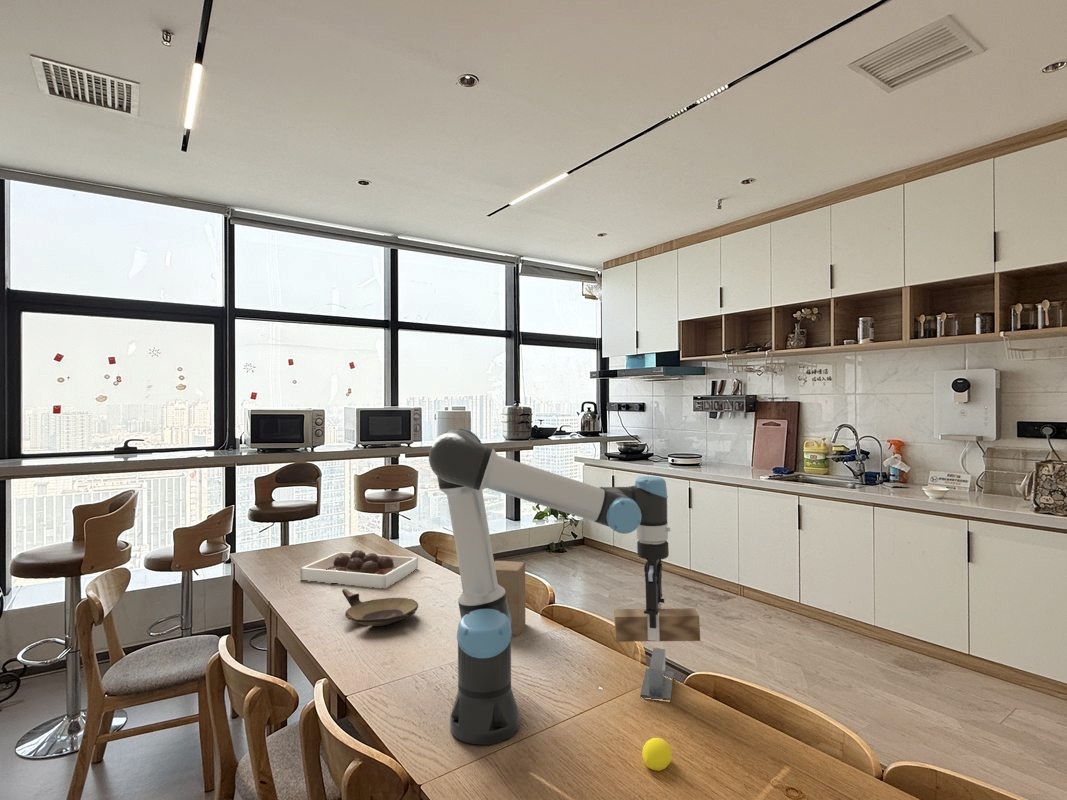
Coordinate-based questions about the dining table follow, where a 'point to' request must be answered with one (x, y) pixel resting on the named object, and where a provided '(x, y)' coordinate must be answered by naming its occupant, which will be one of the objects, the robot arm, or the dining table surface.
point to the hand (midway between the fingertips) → (655, 634)
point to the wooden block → (513, 591)
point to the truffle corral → (320, 573)
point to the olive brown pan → (378, 609)
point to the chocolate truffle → (364, 563)
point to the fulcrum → (657, 678)
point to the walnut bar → (670, 625)
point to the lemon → (657, 754)
